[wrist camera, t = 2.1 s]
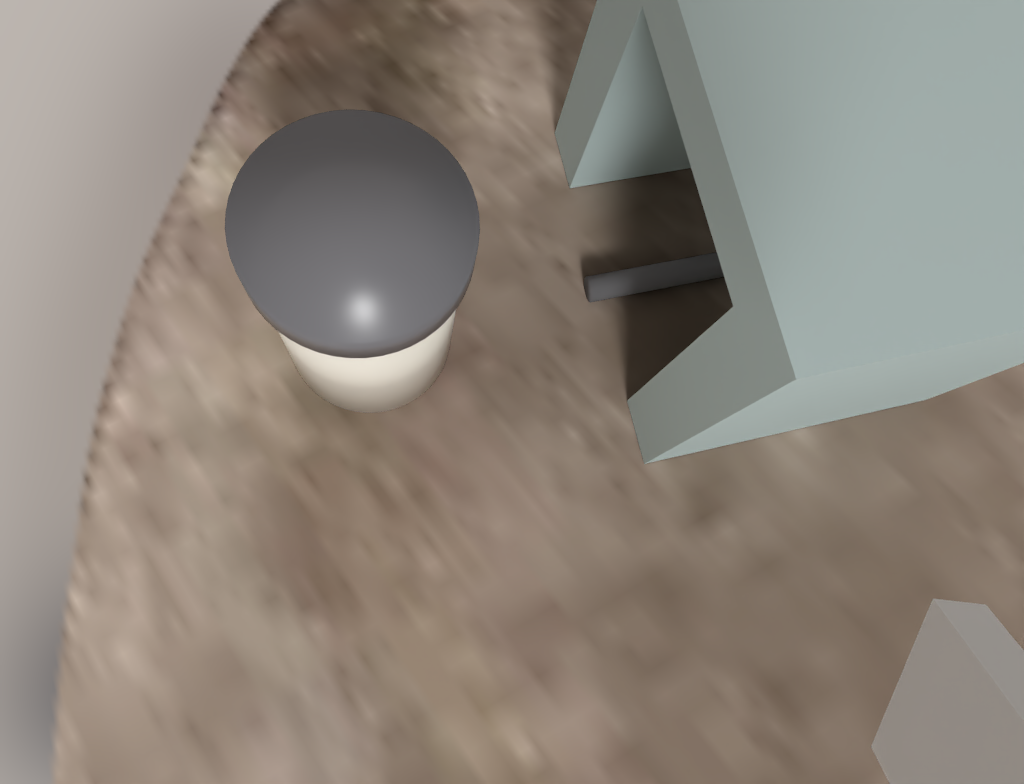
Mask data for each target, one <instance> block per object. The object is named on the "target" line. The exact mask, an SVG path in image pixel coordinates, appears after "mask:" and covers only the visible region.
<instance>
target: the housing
mask: <svg viewBox="0 0 1024 784" xmlns="http://www.w3.org/2000/svg"><path fill="white" fill-rule="evenodd" d="M555 136H556V140H557V143H558V147H559V151H560V154H561V158H562V162H563V165H564V169H565V173H566V176H567V180H568V184H569V188H574V187H580V186H586V185H592V184H598V183H604V182H610V181H616V180H622V179H628V178H634V177H640V176H646V175H652V174H658V173H664V172H670V171H676V170H682V169H688V168H691V169H692V172H693V175H694V179H695V182H696V185H697V189H698V192H699V195H700V198H701V202H702V205H703V208H704V212H705V215H706V218H707V221H708V225H709V228H710V231H711V235H712V238H713V241H714V245H715V248H716V251H717V254H718V258H719V261H720V264H721V268H722V271H723V274H724V277H725V281H726V284H727V287H728V291H729V294H730V297H731V301H732V304H733V307H732V308H731V309H730V310H729V311H728V312H726V313H725V314H724V315H723V316H722V317H721V318H720V319H719V320H717V321H716V322H715V323H714V324H713V325H712V326H711V327H710V328H708V329H707V330H706V331H705V332H704V333H703V334H702V335H701V336H699V337H698V338H697V339H696V340H695V341H694V342H693V343H691V344H690V345H689V346H688V347H687V348H686V349H685V350H684V351H682V352H681V353H680V354H679V355H678V356H677V357H676V358H675V359H673V360H672V361H671V362H670V363H669V364H668V365H667V366H666V367H664V368H663V369H662V370H661V371H660V372H659V373H658V374H657V375H655V376H654V377H653V378H652V379H651V380H650V381H649V382H648V383H646V384H645V385H644V386H643V387H642V388H641V389H640V390H639V391H637V392H636V393H635V394H634V395H633V396H632V397H631V398H630V399H628V400H627V402H628V406H629V409H630V413H631V417H632V420H633V424H634V428H635V431H636V435H637V439H638V443H639V446H640V450H641V454H642V457H643V461H644V464H646V463H650V462H655V461H659V460H663V459H668V458H672V457H677V456H681V455H685V454H690V453H694V452H699V451H703V450H707V449H712V448H716V447H721V446H725V445H729V444H734V443H738V442H743V441H747V440H751V439H756V438H760V437H765V436H769V435H773V434H778V433H782V432H787V431H791V430H795V429H800V428H804V427H809V426H813V425H817V424H822V423H826V422H831V421H835V420H839V419H844V418H848V417H853V416H857V415H861V414H866V413H870V412H875V411H879V410H883V409H888V408H892V407H897V406H901V405H905V404H910V403H914V402H919V401H923V400H927V399H929V398H932V397H935V396H937V395H940V394H943V393H945V392H948V391H950V390H953V389H956V388H958V387H961V386H964V385H966V384H969V383H972V382H974V381H977V380H980V379H982V378H985V377H988V376H990V375H993V374H995V373H998V372H1001V371H1003V370H1006V369H1009V368H1011V367H1014V366H1017V365H1019V364H1022V363H1024V0H597V2H596V5H595V8H594V12H593V15H592V18H591V21H590V24H589V27H588V30H587V34H586V37H585V40H584V43H583V46H582V49H581V52H580V55H579V59H578V62H577V65H576V68H575V71H574V74H573V77H572V81H571V84H570V87H569V90H568V93H567V96H566V99H565V103H564V106H563V109H562V112H561V115H560V118H559V121H558V125H557V128H556V131H555Z"/></svg>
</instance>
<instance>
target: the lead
mask: <svg viewBox="0 0 1024 784" xmlns="http://www.w3.org/2000/svg"><path fill="white" fill-rule="evenodd" d="M720 277H724V274H723V271H722V268H721V264H720V261H719V258H718V254H717V252H716V253H710V254H705V255H700V256H694V257H689V258H684V259H678V260H673V261H667V262H662V263H657V264H651V265H646V266H641V267H635V268H630V269H624V270H619V271H614V272H608V273H603V274H598V275H592V276H587V277H585V279H584V289H585V294H586V297H587V299H588V301H589V302H594V301H599V300H605V299H610V298H615V297H620V296H626V295H631V294H636V293H641V292H646V291H652V290H657V289H662V288H667V287H673V286H678V285H683V284H688V283H693V282H699V281H704V280H709V279H714V278H720Z"/></svg>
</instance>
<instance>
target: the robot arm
mask: <svg viewBox="0 0 1024 784" xmlns="http://www.w3.org/2000/svg"><path fill="white" fill-rule="evenodd" d="M871 748H872V750H873V752H874V754H875V756H876V758H877V760H878V762H879V763H880V765H881V767H882V769H883V771H884V773H885V775H886V777H887V779H888V781H889V783H890V784H1024V651H1023V649H1022V648H1021V647H1020V646H1019V644H1018V643H1017V642H1016V641H1015V640H1014V638H1013V637H1012V636H1011V635H1010V633H1009V632H1008V631H1007V630H1006V629H1005V627H1004V626H1003V625H1002V624H1001V622H1000V621H999V620H998V619H997V618H996V616H995V615H994V614H993V613H992V611H991V610H990V609H989V608H988V607H987V605H984V604H975V603H967V602H958V601H949V600H941V599H933V600H932V602H931V604H930V607H929V609H928V612H927V614H926V616H925V619H924V621H923V624H922V626H921V628H920V631H919V633H918V636H917V638H916V640H915V643H914V645H913V648H912V650H911V652H910V655H909V657H908V660H907V662H906V664H905V667H904V669H903V671H902V674H901V676H900V679H899V681H898V683H897V686H896V688H895V691H894V693H893V695H892V698H891V700H890V703H889V705H888V707H887V710H886V712H885V715H884V717H883V719H882V722H881V724H880V727H879V729H878V731H877V734H876V736H875V739H874V741H873V743H872V746H871Z"/></svg>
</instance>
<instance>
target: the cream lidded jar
mask: <svg viewBox="0 0 1024 784" xmlns="http://www.w3.org/2000/svg"><path fill="white" fill-rule="evenodd" d="M225 232H226V242H227V247H228V251H229V255H230V259H231V261H232V264H233V266H234V268H235V271H236V273H237V275H238V277H239V279H240V281H241V283H242V285H243V286H244V288H245V290H246V292H247V294H248V296H249V297H250V299H251V301H252V302H253V304H254V306H255V307H256V309H257V310H258V311H259V312H260V314H261V315H262V316H263V317H264V319H265V320H266V321H267V322H269V323H270V324H271V325H272V326H273V327H274V328H275V329H276V330H277V331H278V332H279V334H280V336H281V338H282V340H283V342H284V344H285V346H286V348H287V350H288V352H289V354H290V356H291V358H292V361H293V363H294V365H295V367H296V369H297V371H298V372H299V374H300V376H301V377H302V379H303V380H304V381H305V383H306V384H307V385H308V386H309V387H310V388H311V389H312V390H313V391H314V392H315V393H316V394H317V395H319V396H320V397H321V398H323V399H324V400H326V401H328V402H329V403H331V404H333V405H335V406H338V407H340V408H343V409H346V410H350V411H355V412H363V413H377V412H384V411H389V410H393V409H396V408H399V407H401V406H404V405H406V404H408V403H410V402H412V401H413V400H415V399H417V398H418V397H419V396H421V395H422V394H423V393H424V392H426V391H427V390H428V389H429V388H430V387H431V386H432V384H433V383H434V382H435V380H436V379H437V378H438V376H439V375H440V373H441V371H442V369H443V367H444V365H445V362H446V360H447V356H448V352H449V348H450V342H451V336H452V330H453V324H454V318H455V313H456V309H457V307H458V306H459V304H460V302H461V300H462V299H463V297H464V295H465V293H466V291H467V288H468V286H469V283H470V281H471V277H472V273H473V269H474V265H475V260H476V255H477V250H478V243H479V234H480V223H479V212H478V206H477V201H476V198H475V195H474V192H473V189H472V186H471V184H470V182H469V180H468V178H467V176H466V174H465V172H464V171H463V169H462V167H461V166H460V164H459V163H458V161H457V160H456V159H455V158H454V157H453V155H452V154H451V153H450V152H449V151H448V150H447V149H446V148H445V147H444V146H443V145H442V144H441V143H440V142H439V141H438V140H436V139H435V138H434V137H432V136H431V135H430V134H428V133H427V132H425V131H424V130H422V129H420V128H419V127H417V126H415V125H413V124H411V123H409V122H407V121H404V120H402V119H399V118H397V117H394V116H390V115H387V114H383V113H379V112H372V111H365V110H338V111H329V112H324V113H319V114H315V115H312V116H309V117H306V118H303V119H300V120H298V121H296V122H293V123H291V124H289V125H287V126H285V127H284V128H282V129H280V130H279V131H277V132H276V133H274V134H273V135H271V136H270V137H269V138H268V139H267V140H265V141H264V142H263V143H262V144H261V145H260V146H259V147H258V148H257V149H256V150H255V151H254V152H253V153H252V154H251V155H250V156H249V158H248V159H247V161H246V162H245V163H244V165H243V166H242V168H241V169H240V171H239V173H238V175H237V177H236V179H235V181H234V183H233V186H232V189H231V192H230V195H229V198H228V203H227V208H226V217H225Z"/></svg>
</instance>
